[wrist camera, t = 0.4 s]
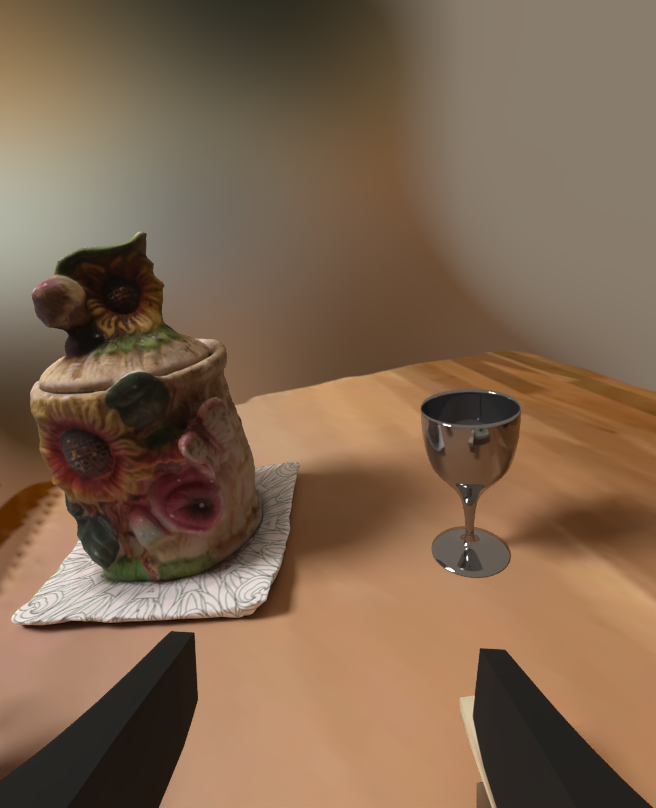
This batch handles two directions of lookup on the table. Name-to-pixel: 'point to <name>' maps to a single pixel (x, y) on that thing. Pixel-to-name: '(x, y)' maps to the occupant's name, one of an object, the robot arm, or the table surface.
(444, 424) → the silver goblet
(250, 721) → the table surface
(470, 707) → the beige rectangular bar
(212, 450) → the cookie jar
